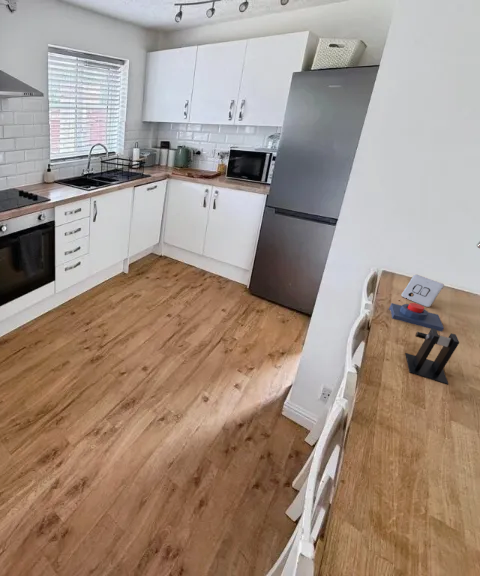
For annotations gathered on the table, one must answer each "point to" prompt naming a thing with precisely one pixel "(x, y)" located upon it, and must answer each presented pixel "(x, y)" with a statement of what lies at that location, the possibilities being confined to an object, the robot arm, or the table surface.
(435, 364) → the bracket
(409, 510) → the table surface
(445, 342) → the lever
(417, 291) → the electrical switch
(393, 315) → the switch block
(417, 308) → the button
